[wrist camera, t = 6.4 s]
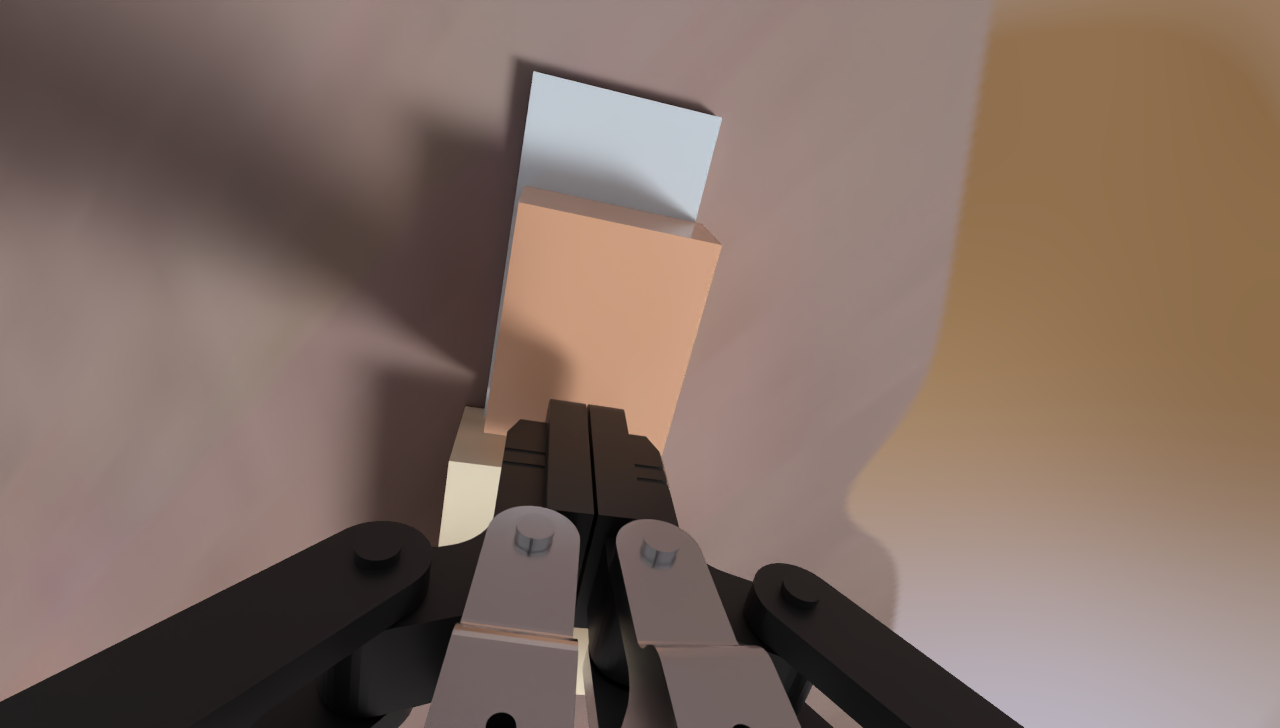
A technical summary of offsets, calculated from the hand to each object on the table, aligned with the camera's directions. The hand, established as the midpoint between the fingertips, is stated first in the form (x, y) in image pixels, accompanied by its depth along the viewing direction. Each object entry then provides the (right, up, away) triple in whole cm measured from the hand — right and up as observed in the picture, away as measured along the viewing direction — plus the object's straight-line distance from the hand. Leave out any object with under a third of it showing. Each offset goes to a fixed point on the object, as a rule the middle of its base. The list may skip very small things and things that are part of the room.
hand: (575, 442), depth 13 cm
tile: (0, +3, +2) cm, 4 cm away
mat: (0, +4, +2) cm, 4 cm away
